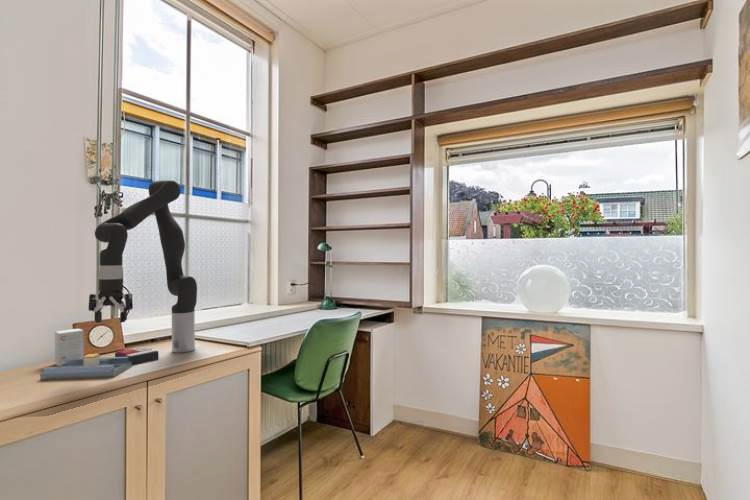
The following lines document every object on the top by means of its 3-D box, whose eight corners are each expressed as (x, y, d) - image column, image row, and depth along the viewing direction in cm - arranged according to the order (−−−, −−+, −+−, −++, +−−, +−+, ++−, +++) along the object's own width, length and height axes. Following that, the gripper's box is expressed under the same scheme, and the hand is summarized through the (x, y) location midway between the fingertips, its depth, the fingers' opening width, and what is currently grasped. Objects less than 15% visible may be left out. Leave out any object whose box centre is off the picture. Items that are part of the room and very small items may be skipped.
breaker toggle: (89, 365, 148) (89, 354, 148) (99, 364, 148) (99, 353, 148) (83, 368, 144) (83, 356, 144) (93, 367, 144) (93, 356, 144)
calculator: (143, 345, 173) (158, 349, 164) (143, 355, 173) (159, 359, 163) (114, 351, 164) (129, 355, 155) (114, 361, 164) (129, 366, 155)
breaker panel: (65, 368, 151) (65, 358, 151) (132, 366, 154) (132, 356, 154) (40, 380, 138) (40, 369, 138) (114, 377, 141) (113, 366, 141)
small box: (79, 359, 163) (79, 327, 163) (84, 362, 159) (83, 330, 159) (54, 364, 157) (54, 331, 157) (58, 367, 153) (58, 333, 153)
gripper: (136, 277, 150) (136, 320, 149) (97, 277, 149) (97, 320, 149) (125, 278, 142) (125, 323, 142) (83, 278, 141) (83, 324, 141)
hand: (110, 322), depth 145 cm, fingers open, 8 cm apart
